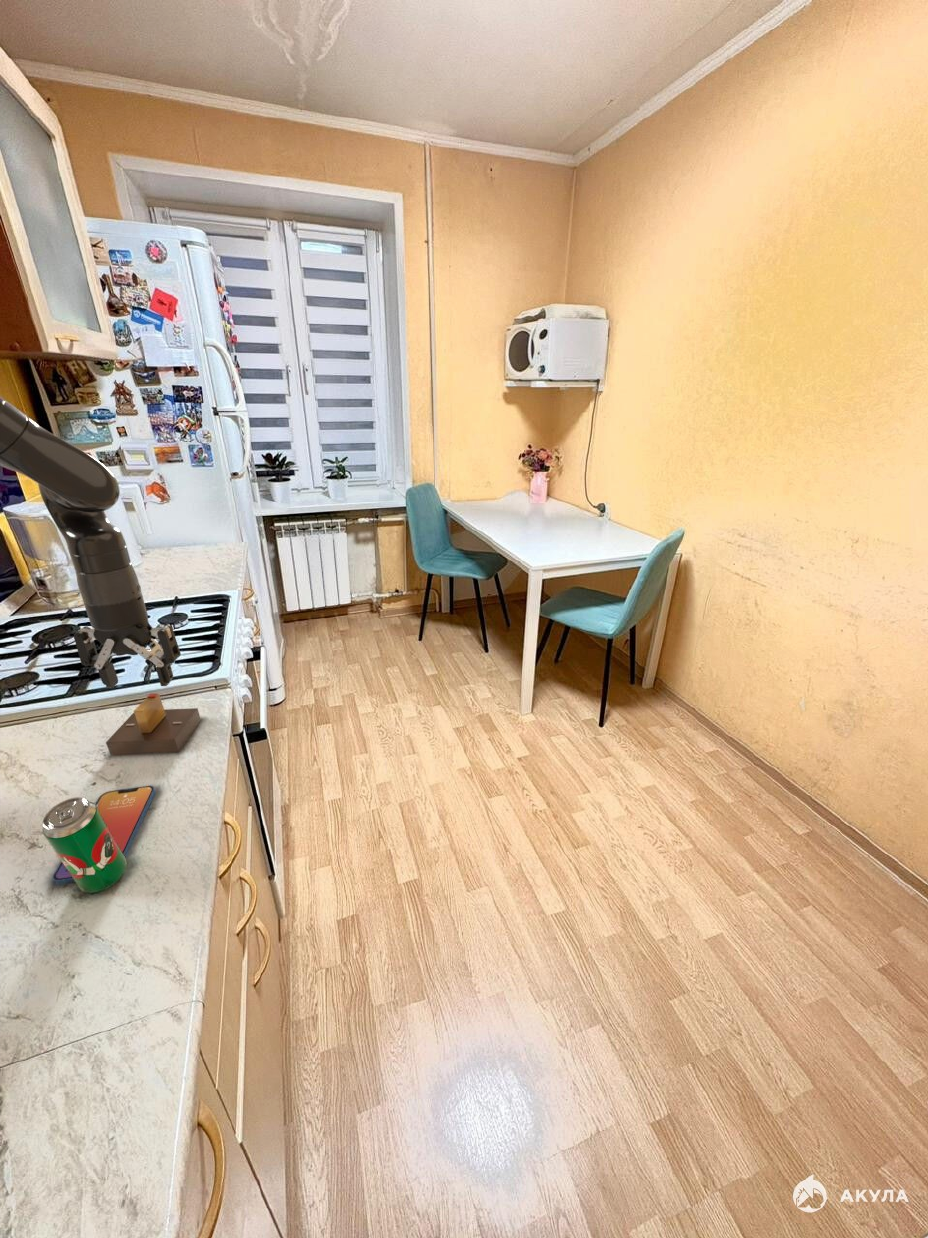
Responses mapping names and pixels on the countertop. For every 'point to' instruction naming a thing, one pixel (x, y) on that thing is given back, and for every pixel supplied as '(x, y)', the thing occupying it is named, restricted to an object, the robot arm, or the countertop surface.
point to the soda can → (84, 844)
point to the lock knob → (149, 713)
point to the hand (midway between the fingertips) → (140, 684)
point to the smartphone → (118, 819)
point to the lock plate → (155, 734)
